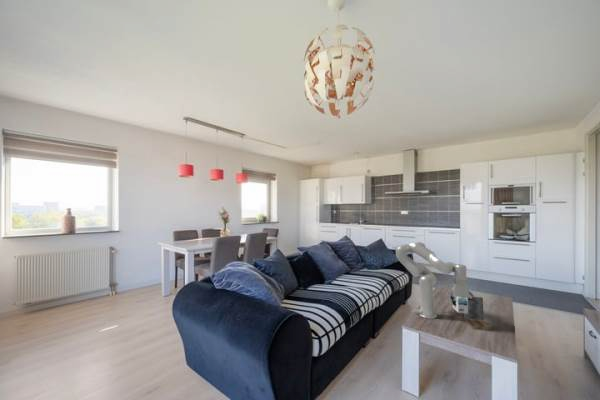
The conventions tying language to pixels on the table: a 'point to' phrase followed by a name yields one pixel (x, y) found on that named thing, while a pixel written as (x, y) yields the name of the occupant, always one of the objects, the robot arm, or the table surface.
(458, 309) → the light bulb box
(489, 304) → the table surface
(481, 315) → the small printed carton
